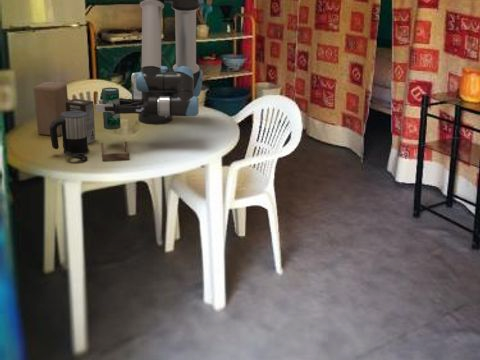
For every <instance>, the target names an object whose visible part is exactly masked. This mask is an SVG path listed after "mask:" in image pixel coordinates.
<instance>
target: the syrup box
mask: <svg viewBox="0 0 480 360" xmlns="http://www.w3.org/2000/svg"><path fill="white" fill-rule="evenodd" d="M136 74H137V72H132V74H131V76H130V77H131V80H130V81H131V82H130V83H131V99H142V92H141V91H138V90H137V88H136Z"/></svg>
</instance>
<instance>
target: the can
mask: <svg viewBox="0 0 480 360" xmlns="http://www.w3.org/2000/svg"><path fill="white" fill-rule="evenodd" d="M119 99H120V89H119V88H118V87H112V86H109V87H108V86H107V87H102V89H101V100H102V103H103V104H111V105H113V104H114V103H115V105H120V104H119ZM102 116H103V117H102V119H103V128H104V130H111V131H112V130H118V129H121V114H115V112H102Z"/></svg>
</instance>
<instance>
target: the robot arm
mask: <svg viewBox="0 0 480 360" xmlns="http://www.w3.org/2000/svg"><path fill="white" fill-rule="evenodd" d="M165 3H170V4H171V5H170V6H171V9H172V10H174V19H175V20H174V21H175V22H174V23H175V26H174V27H175V28H174V30H175V64H174V65H173V66H172V69H169V68H168V67H167V66H166V65H162V15H163V14H162V10H163V9H164V7H165ZM203 3H204V0H139V7H140V8H141V11H142V12H141V13H142V14H141V71H138V72H136V73H137V74H136V88H137V90H138V91H141V92H142V99H132V98H120V97H119V104H120V105H115V103H114V104H113V105H111V104H103V103H102V99H98V104H95V112H96V113H103V112H115V114H120V115H122V114H124V115H125V114H135V115H137V114H138V116H137V117H138V121H139V122H140V123H143V124H147V125H148V124H149V125H161V124H166V123H170V122H172V121H173V117H194V116H195V117H197V116H198V115H199V111H200V109H199V107H200V105H199V104H200V102H199V101H200V100H199V96H200V95H201V92H202V86H203V77H204V75H203V74H204V72H203V70H202V69H201V70H200V66H199V65H198V64H197V11H199V9H200V8H201V4H203Z"/></svg>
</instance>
